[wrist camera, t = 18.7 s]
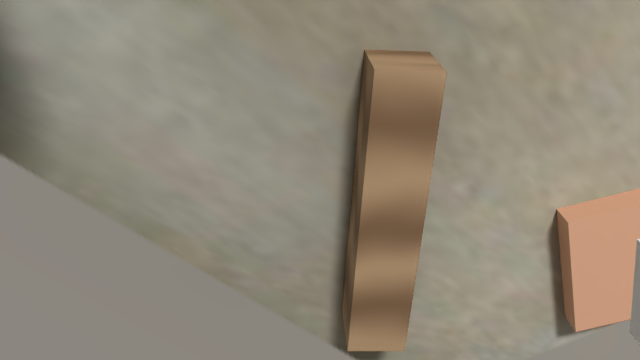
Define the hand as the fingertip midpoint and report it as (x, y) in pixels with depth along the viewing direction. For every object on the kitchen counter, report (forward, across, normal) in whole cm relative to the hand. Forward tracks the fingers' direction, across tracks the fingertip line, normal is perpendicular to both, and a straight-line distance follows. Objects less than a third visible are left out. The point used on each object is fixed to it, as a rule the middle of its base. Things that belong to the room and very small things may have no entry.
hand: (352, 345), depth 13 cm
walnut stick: (+25, +4, -11) cm, 28 cm away
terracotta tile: (+23, +20, -15) cm, 34 cm away
